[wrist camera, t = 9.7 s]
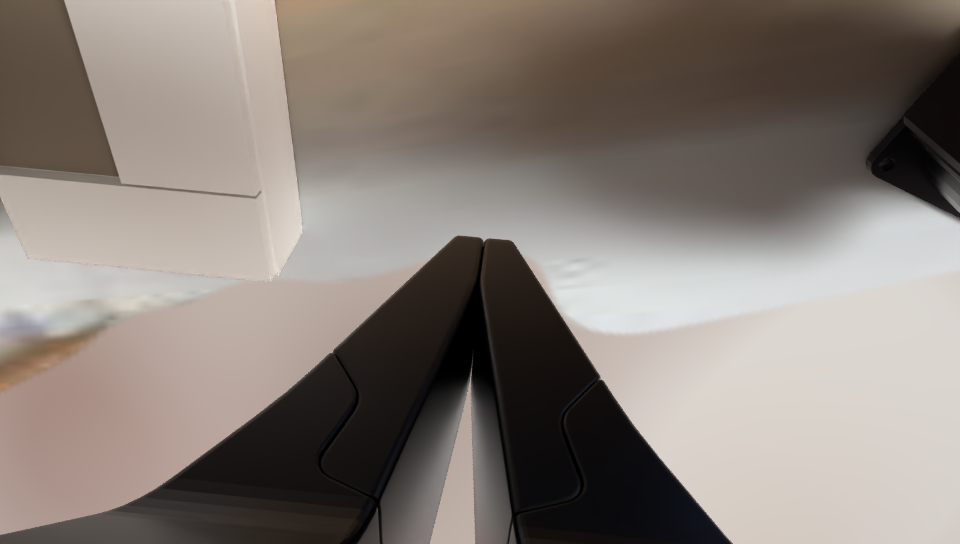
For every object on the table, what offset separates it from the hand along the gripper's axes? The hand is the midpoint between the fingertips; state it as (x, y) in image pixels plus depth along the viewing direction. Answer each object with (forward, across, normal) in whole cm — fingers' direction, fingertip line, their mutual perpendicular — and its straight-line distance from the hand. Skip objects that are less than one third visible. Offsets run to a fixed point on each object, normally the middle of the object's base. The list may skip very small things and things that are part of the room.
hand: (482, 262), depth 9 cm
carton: (+13, +12, +2) cm, 18 cm away
